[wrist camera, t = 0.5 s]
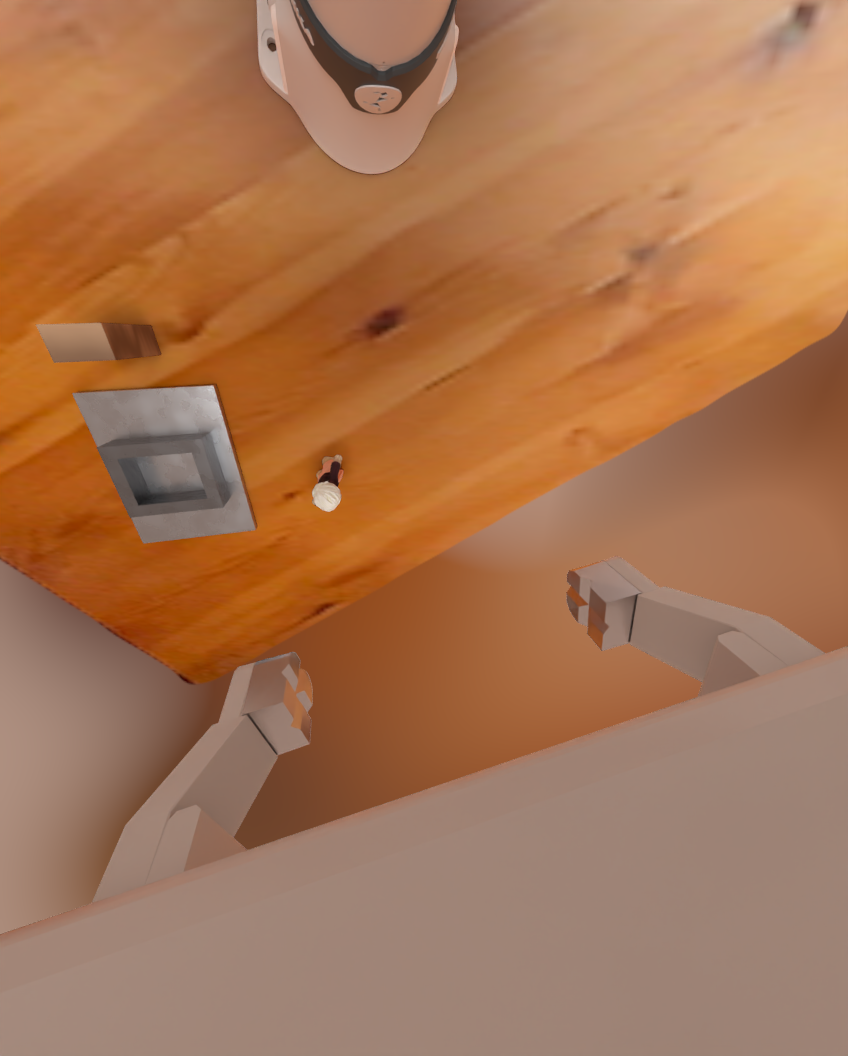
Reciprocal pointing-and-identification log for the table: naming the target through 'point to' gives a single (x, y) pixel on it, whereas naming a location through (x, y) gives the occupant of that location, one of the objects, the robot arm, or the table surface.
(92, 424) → the grey socket base
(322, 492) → the grandmother figurine
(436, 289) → the table surface
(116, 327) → the walnut wedge
